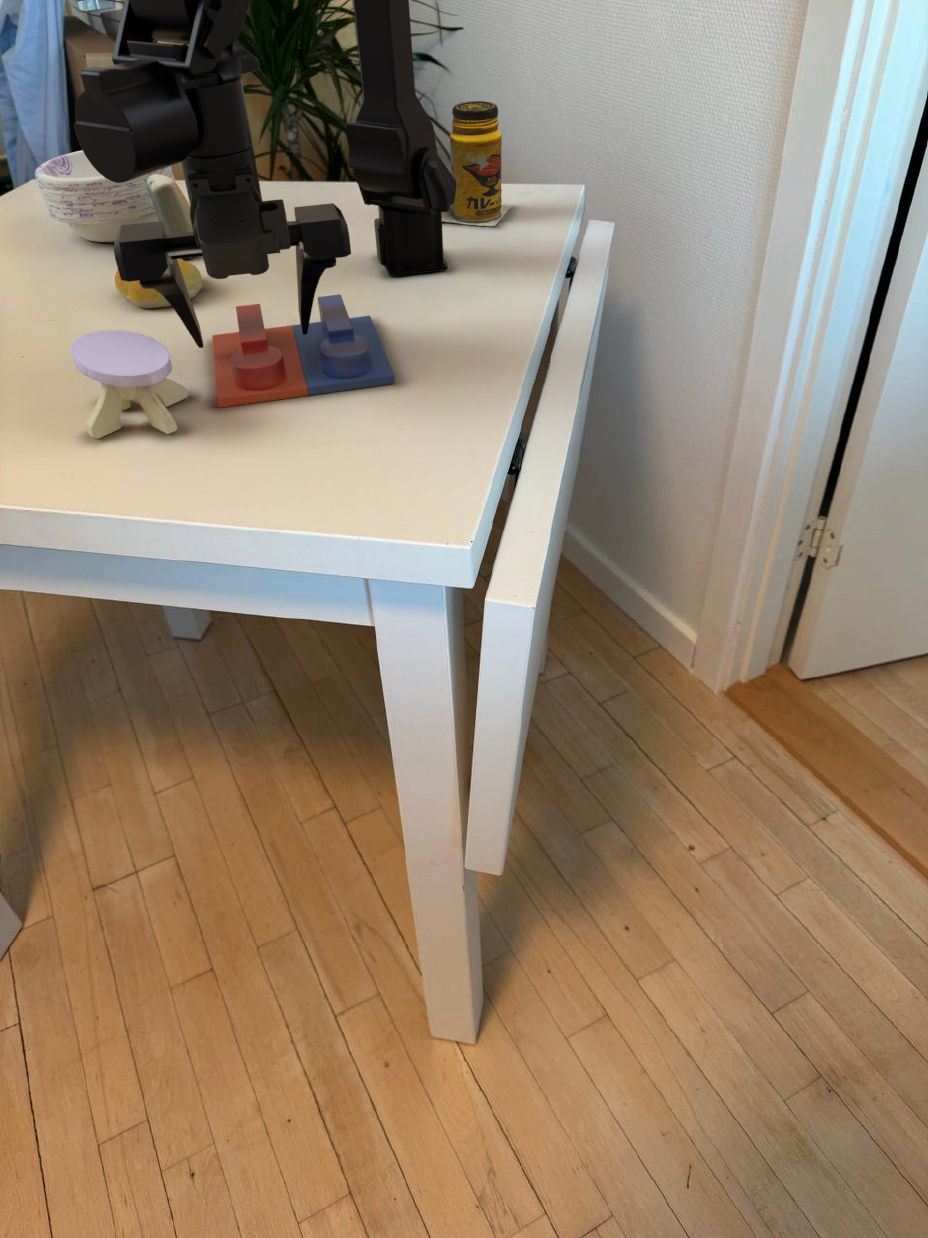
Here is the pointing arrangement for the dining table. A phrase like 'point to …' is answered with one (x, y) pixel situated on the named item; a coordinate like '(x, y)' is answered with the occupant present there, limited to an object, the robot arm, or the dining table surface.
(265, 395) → the sorting board
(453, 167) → the condiment
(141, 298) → the bread roll
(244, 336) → the red spoon
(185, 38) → the robot arm
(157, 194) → the green soap bar
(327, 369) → the blue spoon
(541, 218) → the dining table surface
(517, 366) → the dining table surface
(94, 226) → the paper bowls
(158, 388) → the toy table
